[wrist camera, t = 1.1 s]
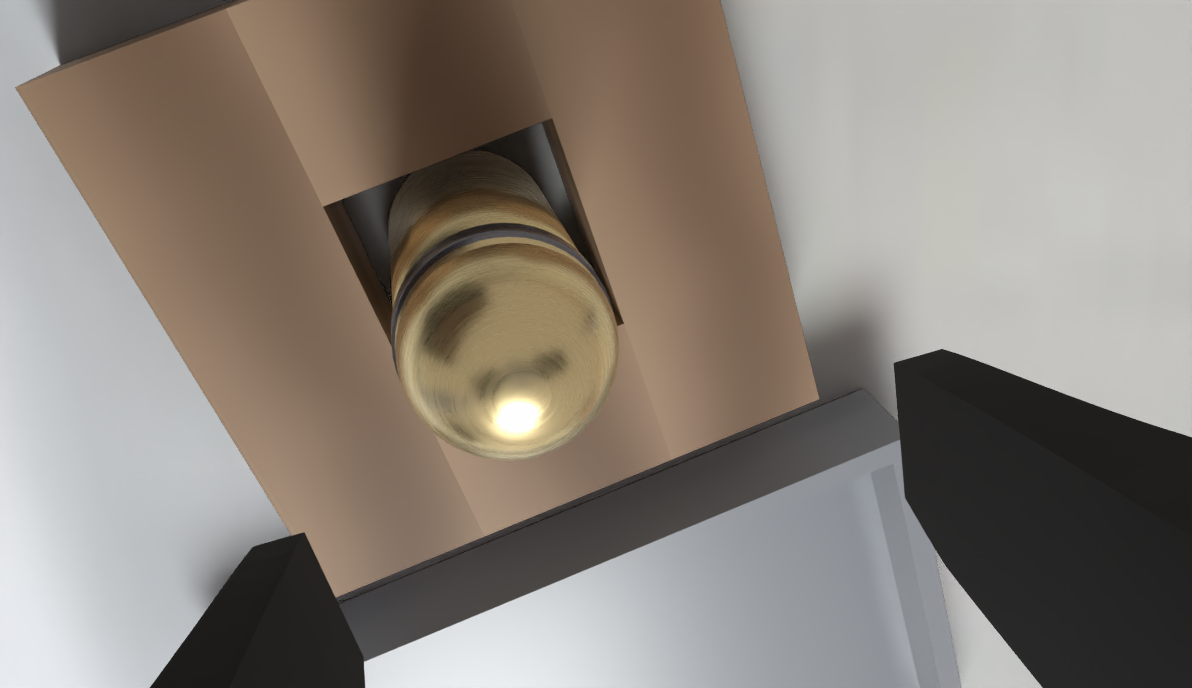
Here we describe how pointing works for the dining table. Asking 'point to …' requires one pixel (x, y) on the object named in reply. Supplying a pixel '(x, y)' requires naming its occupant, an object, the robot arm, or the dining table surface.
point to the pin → (495, 311)
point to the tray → (692, 579)
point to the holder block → (347, 278)
